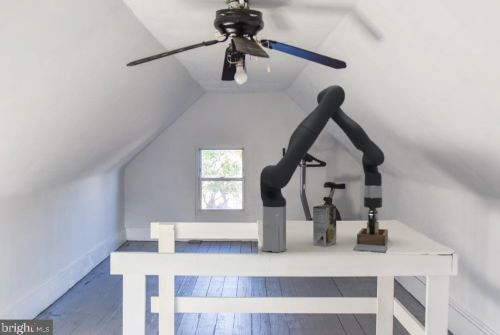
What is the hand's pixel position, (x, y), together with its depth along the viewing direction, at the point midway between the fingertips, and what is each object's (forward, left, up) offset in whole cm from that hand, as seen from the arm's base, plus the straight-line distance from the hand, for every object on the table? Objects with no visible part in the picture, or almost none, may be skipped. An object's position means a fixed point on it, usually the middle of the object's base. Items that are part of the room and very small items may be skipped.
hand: (372, 235), depth 184 cm
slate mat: (-15, -1, -3) cm, 15 cm away
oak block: (0, 0, -2) cm, 2 cm away
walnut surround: (0, 0, -3) cm, 3 cm away
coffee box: (-11, +18, -3) cm, 22 cm away
